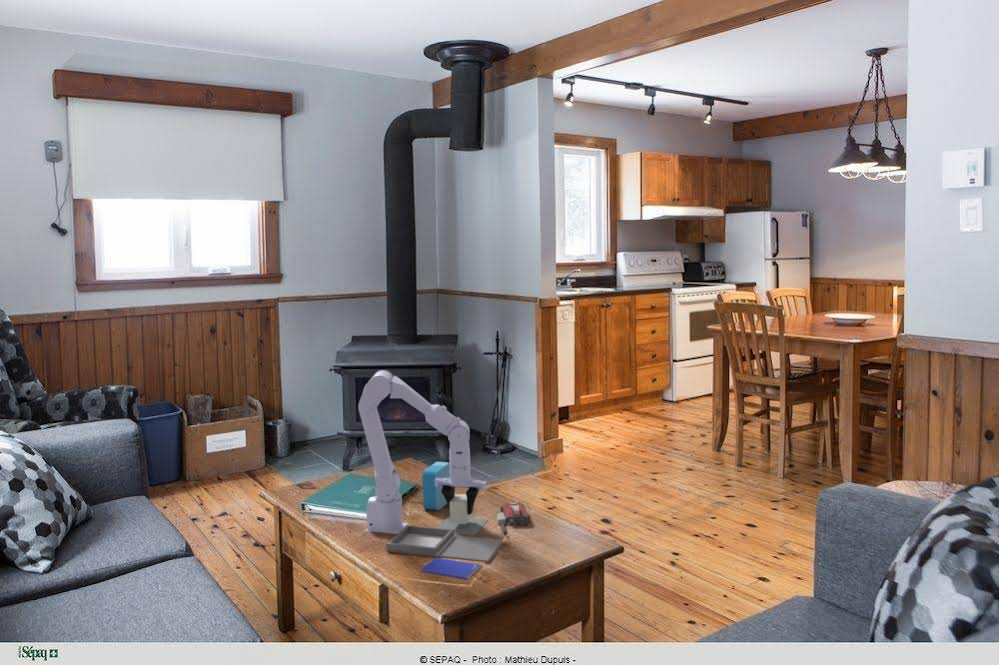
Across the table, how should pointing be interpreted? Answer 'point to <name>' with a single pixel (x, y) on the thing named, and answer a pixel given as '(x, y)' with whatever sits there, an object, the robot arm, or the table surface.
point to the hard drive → (451, 568)
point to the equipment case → (442, 544)
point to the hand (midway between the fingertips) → (461, 512)
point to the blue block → (433, 494)
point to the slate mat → (464, 526)
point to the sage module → (459, 509)
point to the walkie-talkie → (512, 515)
